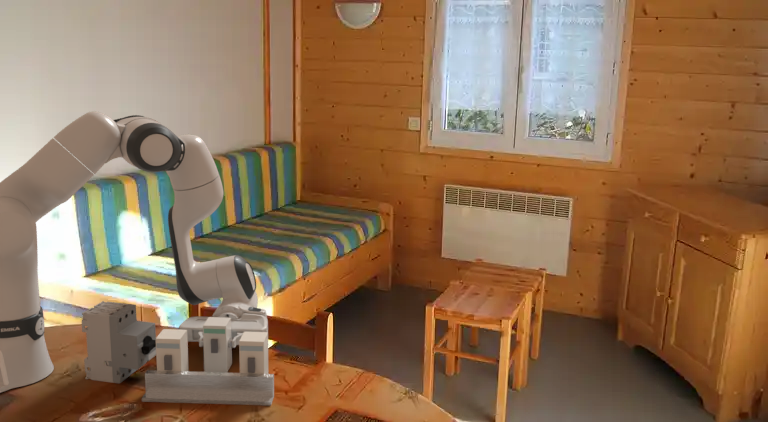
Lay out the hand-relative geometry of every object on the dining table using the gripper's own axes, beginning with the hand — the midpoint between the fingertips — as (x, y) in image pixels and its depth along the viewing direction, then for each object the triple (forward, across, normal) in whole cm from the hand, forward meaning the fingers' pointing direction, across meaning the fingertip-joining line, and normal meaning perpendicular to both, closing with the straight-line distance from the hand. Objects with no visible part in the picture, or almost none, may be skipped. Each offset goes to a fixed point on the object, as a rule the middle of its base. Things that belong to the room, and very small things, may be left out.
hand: (216, 344), depth 156 cm
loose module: (-1, 0, +6) cm, 6 cm away
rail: (+14, +1, +6) cm, 15 cm away
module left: (+9, -7, +6) cm, 13 cm away
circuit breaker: (+4, -19, +6) cm, 20 cm away
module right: (+9, +10, +6) cm, 15 cm away
